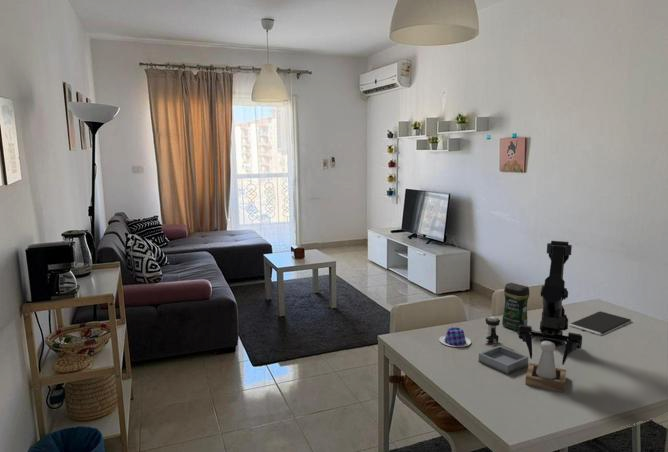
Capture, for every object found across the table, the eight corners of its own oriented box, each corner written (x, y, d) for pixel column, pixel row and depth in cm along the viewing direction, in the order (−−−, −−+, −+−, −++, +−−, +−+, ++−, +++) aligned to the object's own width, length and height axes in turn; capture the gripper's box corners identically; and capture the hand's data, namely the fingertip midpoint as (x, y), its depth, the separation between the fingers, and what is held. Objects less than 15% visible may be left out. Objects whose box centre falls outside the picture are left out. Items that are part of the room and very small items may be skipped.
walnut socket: (529, 369, 155) (529, 362, 154) (565, 377, 150) (566, 369, 149) (525, 384, 145) (525, 376, 145) (564, 392, 140) (564, 384, 140)
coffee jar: (498, 326, 194) (501, 283, 191) (508, 321, 199) (511, 280, 196) (520, 332, 187) (523, 288, 184) (530, 328, 192) (532, 285, 189)
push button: (490, 346, 173) (491, 321, 172) (479, 342, 178) (480, 317, 176) (501, 342, 177) (503, 318, 175) (490, 338, 181) (491, 314, 180)
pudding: (459, 334, 186) (460, 322, 185) (477, 346, 175) (478, 333, 174) (433, 338, 182) (433, 326, 182) (449, 350, 171) (450, 337, 170)
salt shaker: (532, 376, 150) (534, 339, 148) (549, 375, 150) (551, 338, 148) (542, 385, 144) (544, 346, 142) (559, 384, 145) (562, 345, 143)
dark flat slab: (567, 327, 194) (567, 323, 193) (599, 314, 209) (599, 310, 208) (600, 337, 183) (600, 333, 182) (631, 322, 198) (631, 318, 197)
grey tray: (499, 353, 168) (499, 345, 167) (527, 365, 158) (528, 356, 158) (478, 361, 161) (478, 353, 161) (507, 374, 152) (507, 365, 151)
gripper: (520, 301, 152) (513, 345, 144) (584, 310, 143) (581, 357, 135) (521, 316, 160) (515, 359, 152) (582, 325, 151) (579, 371, 143)
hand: (546, 361), depth 145 cm, fingers open, 9 cm apart
